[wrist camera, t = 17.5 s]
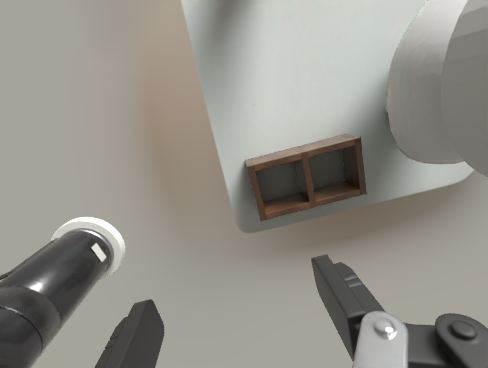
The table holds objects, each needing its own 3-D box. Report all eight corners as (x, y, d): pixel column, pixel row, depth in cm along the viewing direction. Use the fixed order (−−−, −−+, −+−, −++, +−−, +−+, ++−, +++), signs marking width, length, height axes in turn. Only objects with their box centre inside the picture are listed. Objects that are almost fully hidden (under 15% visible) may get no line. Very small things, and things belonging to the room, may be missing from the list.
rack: (257, 209, 43) (260, 221, 38) (244, 160, 40) (247, 166, 36) (351, 184, 43) (366, 193, 38) (345, 134, 40) (360, 136, 36)
